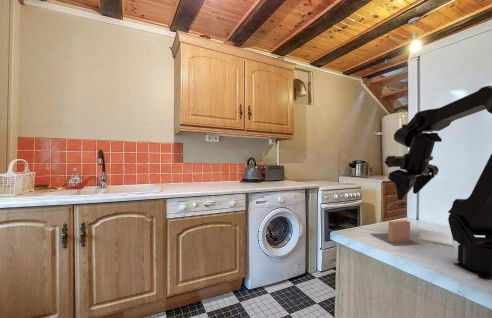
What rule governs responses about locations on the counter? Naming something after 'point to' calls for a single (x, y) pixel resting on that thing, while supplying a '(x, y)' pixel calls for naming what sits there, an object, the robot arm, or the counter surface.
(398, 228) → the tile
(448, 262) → the counter surface
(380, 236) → the mat
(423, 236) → the hard drive
